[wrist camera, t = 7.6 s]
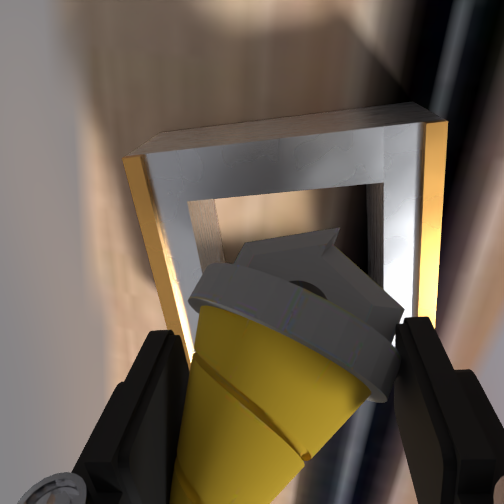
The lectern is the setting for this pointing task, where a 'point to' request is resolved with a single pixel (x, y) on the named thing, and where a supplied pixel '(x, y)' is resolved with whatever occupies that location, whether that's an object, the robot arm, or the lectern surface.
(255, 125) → the block
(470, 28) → the lectern surface
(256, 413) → the drill bit
